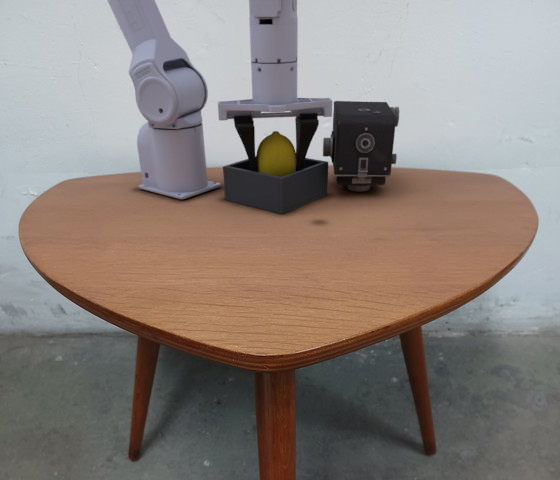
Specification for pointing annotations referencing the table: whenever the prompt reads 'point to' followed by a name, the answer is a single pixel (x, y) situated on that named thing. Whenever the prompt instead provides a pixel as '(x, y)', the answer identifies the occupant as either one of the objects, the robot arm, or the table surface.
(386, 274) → the table surface
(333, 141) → the camera
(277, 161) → the lemon
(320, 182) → the bin
